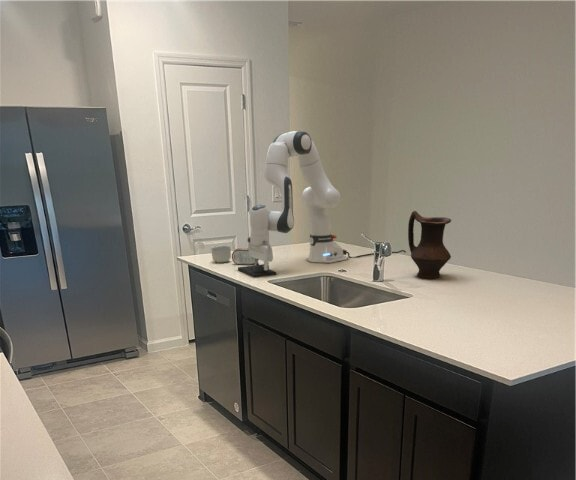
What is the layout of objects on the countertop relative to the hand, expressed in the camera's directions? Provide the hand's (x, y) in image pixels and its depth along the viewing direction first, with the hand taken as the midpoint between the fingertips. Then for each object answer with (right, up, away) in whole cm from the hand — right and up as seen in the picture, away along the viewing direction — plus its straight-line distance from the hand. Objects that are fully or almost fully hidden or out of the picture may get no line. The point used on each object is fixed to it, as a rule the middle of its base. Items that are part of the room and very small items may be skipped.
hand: (261, 268), depth 274 cm
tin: (-10, +7, +25) cm, 28 cm away
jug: (+80, -6, -10) cm, 81 cm away
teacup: (-24, +11, +34) cm, 44 cm away
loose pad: (-1, -2, +2) cm, 3 cm away
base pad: (-5, +1, +9) cm, 11 cm away
